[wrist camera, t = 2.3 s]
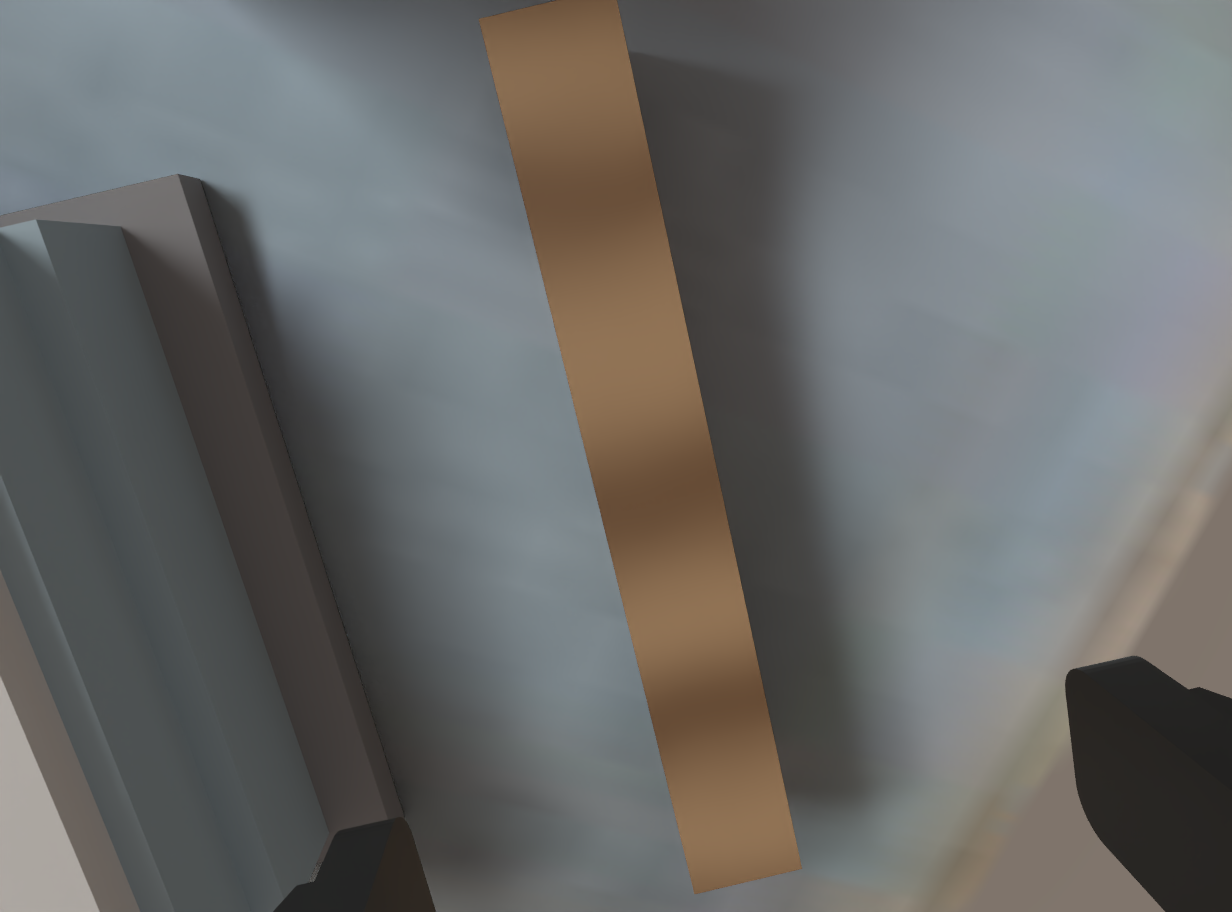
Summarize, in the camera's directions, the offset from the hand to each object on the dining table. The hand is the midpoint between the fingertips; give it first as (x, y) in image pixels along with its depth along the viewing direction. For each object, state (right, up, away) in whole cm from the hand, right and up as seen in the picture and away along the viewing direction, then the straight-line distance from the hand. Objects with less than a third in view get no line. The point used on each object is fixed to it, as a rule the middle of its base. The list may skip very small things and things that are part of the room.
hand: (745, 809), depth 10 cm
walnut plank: (-1, +4, +18) cm, 19 cm away
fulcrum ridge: (-16, +1, +18) cm, 24 cm away
